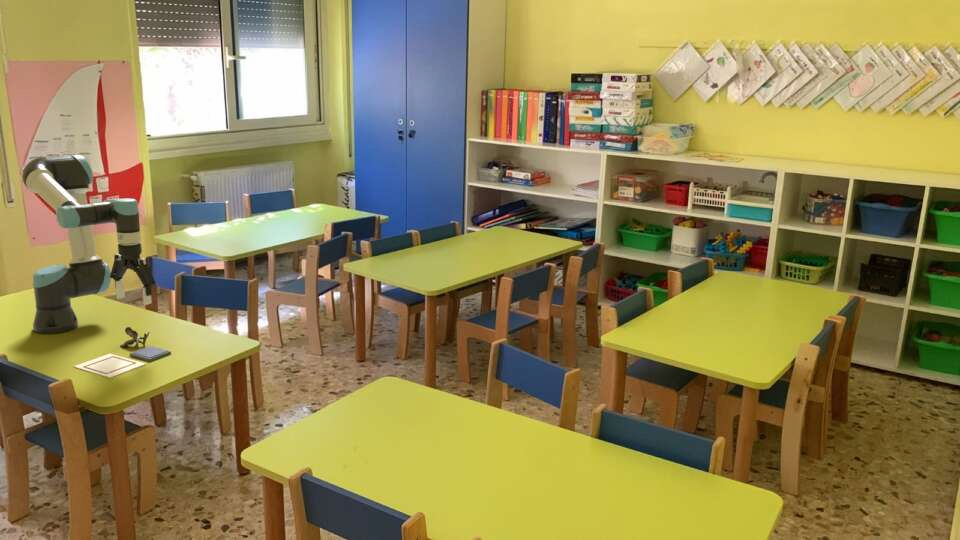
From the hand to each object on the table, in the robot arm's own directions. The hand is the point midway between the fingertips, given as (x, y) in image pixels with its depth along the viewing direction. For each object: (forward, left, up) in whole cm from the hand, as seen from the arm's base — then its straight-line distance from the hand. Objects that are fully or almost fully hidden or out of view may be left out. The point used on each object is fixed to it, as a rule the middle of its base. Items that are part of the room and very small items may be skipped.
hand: (134, 301), depth 282 cm
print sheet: (+9, -19, -17) cm, 26 cm away
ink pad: (+12, -5, -17) cm, 21 cm away
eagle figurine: (-1, -1, -17) cm, 17 cm away
